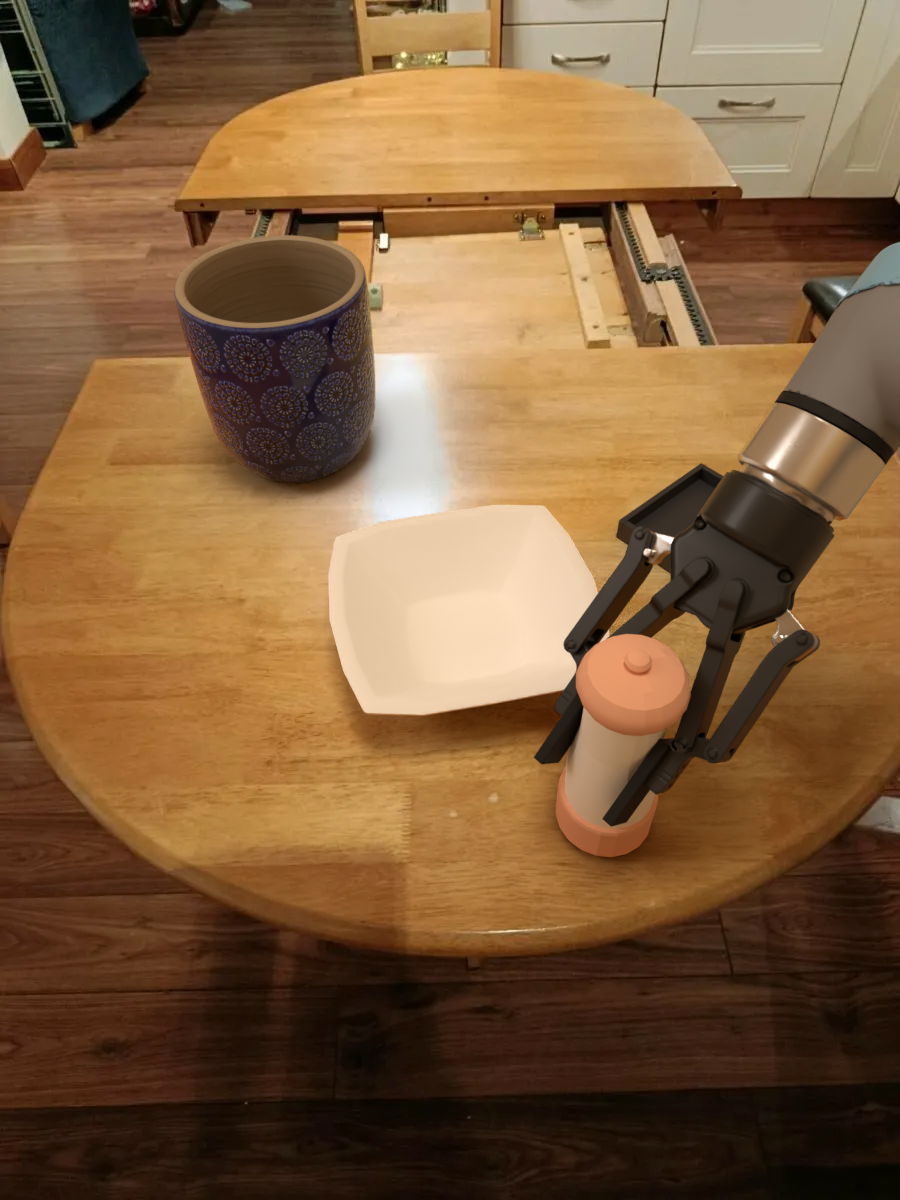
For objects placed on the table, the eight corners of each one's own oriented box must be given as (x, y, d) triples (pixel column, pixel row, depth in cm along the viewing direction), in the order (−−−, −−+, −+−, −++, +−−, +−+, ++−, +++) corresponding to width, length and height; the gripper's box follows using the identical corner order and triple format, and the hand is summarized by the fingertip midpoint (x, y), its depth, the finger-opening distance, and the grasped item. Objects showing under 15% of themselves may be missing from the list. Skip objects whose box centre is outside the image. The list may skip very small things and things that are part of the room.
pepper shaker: (666, 799, 65) (720, 641, 51) (626, 875, 61) (671, 726, 47) (582, 755, 68) (610, 594, 54) (538, 825, 64) (556, 671, 50)
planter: (350, 516, 89) (326, 339, 73) (190, 488, 92) (135, 313, 77) (402, 414, 100) (391, 243, 85) (259, 392, 104) (223, 225, 88)
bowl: (627, 717, 71) (637, 676, 67) (352, 767, 68) (345, 728, 64) (552, 536, 86) (557, 494, 82) (324, 572, 83) (316, 529, 79)
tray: (803, 542, 85) (810, 525, 83) (723, 608, 79) (729, 592, 77) (696, 479, 92) (701, 462, 90) (615, 536, 86) (618, 519, 84)
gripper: (932, 584, 51) (707, 878, 56) (683, 445, 60) (510, 707, 65) (922, 564, 44) (670, 898, 49) (646, 412, 54) (458, 705, 59)
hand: (579, 789), depth 57 cm, fingers closed on pepper shaker, 5 cm apart
